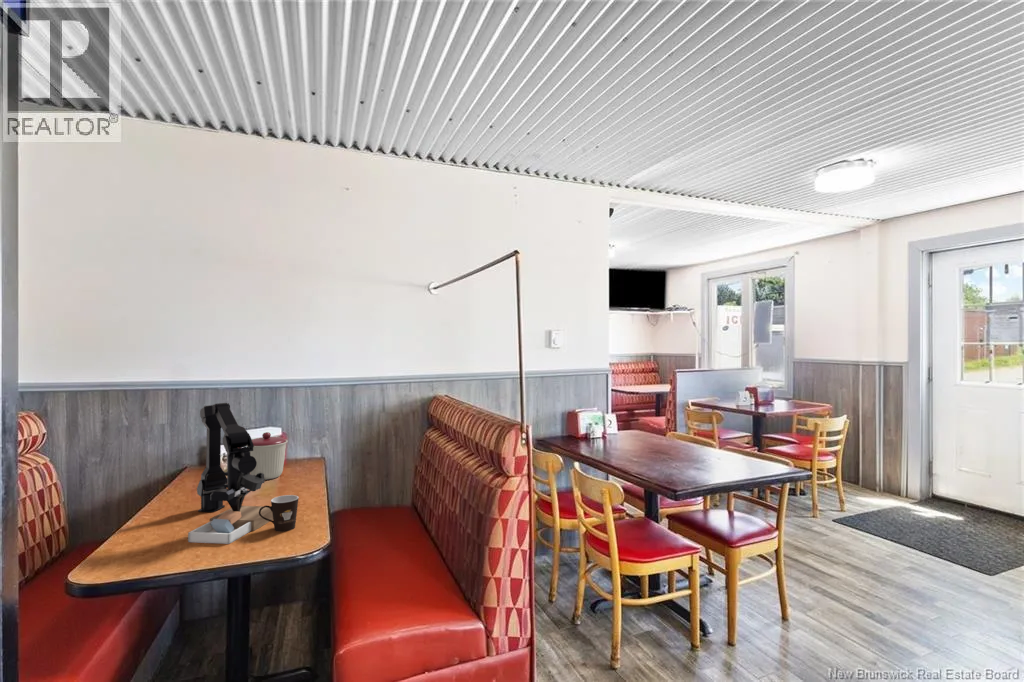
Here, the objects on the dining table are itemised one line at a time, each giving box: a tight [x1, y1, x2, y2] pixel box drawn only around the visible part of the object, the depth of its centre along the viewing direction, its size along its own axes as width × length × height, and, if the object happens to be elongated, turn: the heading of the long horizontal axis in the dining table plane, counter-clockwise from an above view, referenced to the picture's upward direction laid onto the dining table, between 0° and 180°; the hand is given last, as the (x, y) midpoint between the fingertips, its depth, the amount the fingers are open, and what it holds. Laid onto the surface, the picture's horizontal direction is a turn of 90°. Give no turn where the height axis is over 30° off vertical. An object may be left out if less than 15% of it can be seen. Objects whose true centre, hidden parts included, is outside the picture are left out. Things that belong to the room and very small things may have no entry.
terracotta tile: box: [217, 510, 241, 524], centre depth 169 cm, size 5×5×2 cm
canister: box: [246, 431, 288, 481], centre depth 237 cm, size 18×18×21 cm
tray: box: [187, 520, 251, 545], centre depth 164 cm, size 14×11×3 cm
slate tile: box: [210, 519, 234, 533], centre depth 165 cm, size 5×5×2 cm
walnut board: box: [209, 505, 273, 532], centre depth 177 cm, size 16×14×4 cm
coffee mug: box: [259, 494, 299, 533], centre depth 171 cm, size 12×9×10 cm
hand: (236, 513), depth 173 cm, fingers closed
